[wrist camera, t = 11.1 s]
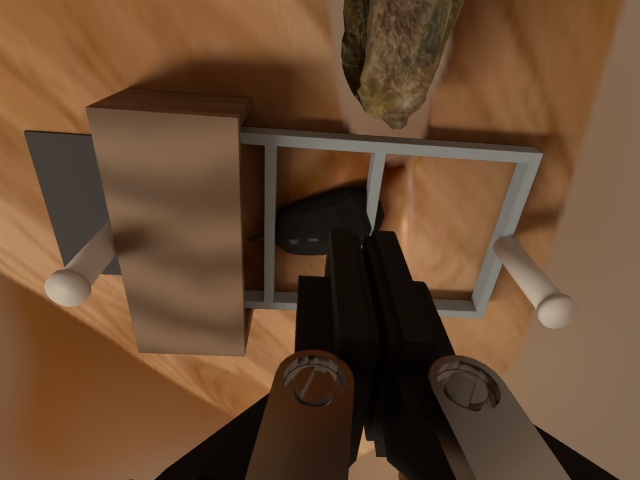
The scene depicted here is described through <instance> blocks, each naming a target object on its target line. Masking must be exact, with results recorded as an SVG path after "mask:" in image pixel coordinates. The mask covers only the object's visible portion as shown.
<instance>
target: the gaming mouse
mask: <svg viewBox="0 0 640 480" xmlns="http://www.w3.org/2000/svg"><path fill="white" fill-rule="evenodd" d="M383 219H384V213H383V209H382V204H381V201H380V200H378V206H377V212H376V218H375V224H374V230H377V231H378V230H379V229H380V227H381V224H382V221H383ZM330 228H341V229H351V231H352V235H359V238H360V243H361V246H362V244H363V238H364V236H365V235H370V233H371V230H372V227H371V224H370V221H369V218H368V215H367V189H364V188H361V187H345V188H340V189H336V190H333V191H329V192H327V193H324V194H321V195H318V196H315V197H312V198H309V199H305V200H302V201H299V202H296V203H294V204H291V205H288V206H286V207H284V208H283V209H282V210H281V211H280V212H278V213H277V214H276V222H275V243H276V244H277V245H279V246H280V247H281V248H282V249H284V250H285V251H286V252H287V253H292V254H296V255H325V254H327V246H328V236H329V229H330ZM258 240H264V235H262V236H261V237H256V238H251V239H248V242H254V241H258Z"/></svg>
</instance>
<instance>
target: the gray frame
mask: <svg viewBox="0 0 640 480" xmlns="http://www.w3.org/2000/svg"><path fill="white" fill-rule="evenodd" d="M240 142H241V144H252V145H265V232H264V291H257V290H244V296H245V308H258V309H280V310H297V294H298V292H278V291H274V287H275V222H276V197H277V152H278V146H281V147H296V148H311V149H325V150H340V151H355V152H370V153H371V159H370V166H369V173H368V180H367V187H366V189H367V215H368V218H369V221H370V224H371V227H372V230H371V233H372V231H373V230H374V224H375V218H376V212H377V206H378V200H379V194H380V188H381V182H382V176H383V170H384V164H385V158H386V154H399V155H414V156H429V157H443V158H458V159H473V160H488V161H502V162H517V165H516V168H515V171H514V174H513V177H512V180H511V183H510V186H509V189H508V192H507V195H506V198H505V201H504V204H503V206H502V209H501V212H500V215H499V218H498V221H497V224H496V227H495V230H494V233H493V236H492V239H491V242H490V245H489V247H488V250H487V253H486V256H485V259H484V262H483V265H482V268H481V271H480V274H479V277H478V280H477V283H476V286H475V288H474V291H473V294H472V297H471V300H470V301H467V300H446V299H433V302H434V304H435V307H436V309H437V311H438V314H439V316H440V317H458V318H480V319H482V318H483V315H484V313H485V310H486V307H487V304H488V302H489V299H490V296H491V294H492V291H493V288H494V286H495V283H496V280H497V278H498V275H499V272H500V269H501V267H502V264H503V265H504V266H505V268H506V269H507V270H508V272H509V273H510V274H511V276H512V277H513V278H514V280H515V281H516V282H517V284H518V285H519V286H520V288H521V289H522V290H523V292H524V293H525V295H526V296H527V297H528V299H529V300H530V301H531V303H532V304H533V305H534V307H535V308H536V315H537V317H538V318H539V320H540V321H541V322H542V324H543V325H544V326H546V327H548V328H560V327H563V326H565V325H567V324H569V323H571V322H572V321H573V320H574V319H575V318H576V316H577V315H578V311H579V308H578V305H577V304H576V303H575V302H574V301H573V299H572V298H571V297H570V296H568V295H566V294H562V293H561V292H560V291H559V289H558V288H557V287H556V286H555V285H554V284H553V283H552V281H551V280H550V279H549V278H548V277H547V276H546V274H545V273H544V272H543V271H542V270H541V269H540V267H539V266H538V265H537V264H536V263H535V262H534V261H533V259H532V258H531V257H530V256H529V255H528V254H527V253H526V251H525V250H524V249H523V248H522V247H521V246H520V244H519V243H518V242H517V241H516V240H515V239H514V238H513V235H514V232H515V229H516V226H517V224H518V221H519V218H520V216H521V213H522V210H523V208H524V205H525V202H526V200H527V197H528V194H529V192H530V189H531V186H532V183H533V181H534V178H535V175H536V173H537V170H538V167H539V165H540V162H541V159H542V157H543V153H542V152H540V151H539V150H537V149H536V148H534V147H527V146H513V145H498V144H484V143H470V142H456V141H441V140H427V139H412V138H399V137H383V136H370V135H356V134H342V133H327V132H313V131H299V130H285V129H271V128H256V127H242V126H241V127H240ZM371 233H370V235H369V236H371ZM361 248H362V246H361ZM116 254H117V250H116V245H115V241H114V236H113V232H112V227H111V222H110V220H109V221H108V222H107V223H106V224H105V225H104V226H103V227H102V228H101V229H100V230H99V231H98V232H97V233H96V234H95V236H94V237H93V238H92V239H91V240H90V241H89V242H88V243H87V244H86V245H85V246H84V247H83V248H82V249H81V251H80V252H79V253H78V254H77V255H76V256H75V257H74V258H73V259H72V260H71V261H70V262H69V263H68V264H67V266H66V267H65V268H64V269H63V270H58V271H56V272H54V273H53V274H52V275H51V276H50V277H49V278H48V279H47V281H46V282H45V285H44V288H45V292H46V294H47V295H48V297H49V298H50V299H52V300H53V301H54V302H56V303H58V304H60V305H62V306H67V307H76V306H79V305H81V304H83V303H84V302H85V300H86V299H87V298H88V296H89V295H90V293H91V286H92V284H93V283H94V282H95V281H96V279H97V278H98V277H99V275H100V274H101V273H102V272H103V270H104V269H105V268H106V266H107V265H108V264H109V263H110V261H111V260H112V259H113V258H114V256H115V255H116Z"/></svg>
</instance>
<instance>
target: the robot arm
mask: <svg viewBox="0 0 640 480" xmlns="http://www.w3.org/2000/svg"><path fill="white" fill-rule="evenodd" d="M363 426H364V429H365V436H366V440H367V441H374V444H375V450H376V457H387V461H388V462H389V463H390V464H392V465H393V466H394V467H395V468H396V469H397V470H398V471H399V474H398V477H399V480H619V479H617V478H616V477H614V476H613V475H611V474H610V473H608V472H607V471H605V470H604V469H602V468H600V467H599V466H597V465H596V464H594V463H593V462H591V461H590V460H588V459H587V458H585V457H583V456H582V455H580V454H579V453H577V452H576V451H574V450H573V449H571V448H569V447H568V446H566V445H565V444H563V443H562V442H560V441H559V440H557V439H556V438H554V437H553V436H551V435H549V434H548V433H546V432H545V431H543V430H542V429H540V428H539V427H537V426H535V425H534V424H532V422H531V421H530V419H529V418H528V416H527V415H526V413H525V412H524V410H523V409H522V407H521V406H520V405H519V403H518V402H517V400H516V399H515V397H514V396H513V395H512V393H511V392H510V390H509V389H508V387H507V386H506V384H505V383H504V381H503V380H502V379H501V378H500V377H499V376H498V374H497V373H496V372H495V371H493V370H492V369H491V368H489V367H488V366H487V365H485V364H483V363H481V362H479V361H477V360H475V359H473V358H469V357H465V356H460V355H455V353H454V350H453V348H452V345H451V343H450V340H449V338H448V336H447V333H446V331H445V328H444V326H443V324H442V321H441V319H440V316H439V314H438V311H437V309H436V307H435V304H434V302H433V299H432V297H431V294H430V292H429V290H428V287H427V285H426V284H425V283H424V282H419V281H413V280H412V277H411V274H410V272H409V269H408V266H407V264H406V261H405V258H404V256H403V253H402V250H401V247H400V245H399V242H398V239H397V237H396V234H395V232H393V231H377V230H373V231H372V233H371V236H369V235H365V236H364V238H363V244H362V248H361V243H360V238H359V235H352V231H351V229H341V228H330V229H329V236H328V246H327V256H326V266H325V276H324V277H319V276H299V278H298V294H297V311H296V331H295V352H294V354H292V355H290V356H288V357H287V358H286V359H285V360H284V361H283V362H282V363H280V365H279V367H278V369H277V371H276V373H275V376H274V380H273V383H272V387H271V390H270V393H269V394H267V395H266V396H264V397H263V398H262V399H260V400H259V401H258V402H256V403H255V404H254V405H252V406H251V407H250V408H248V409H247V410H245V411H244V412H243V413H241V414H240V415H239V416H237V417H236V418H235V419H233V420H232V421H231V422H229V423H228V424H226V425H225V426H224V427H222V428H221V429H220V430H218V431H217V432H216V433H214V434H213V435H212V436H210V437H209V438H207V439H206V440H205V441H204V442H202V443H201V444H199V445H198V446H197V447H195V448H194V449H193V450H191V451H190V452H189V453H187V454H186V455H184V456H183V457H182V458H180V459H179V460H178V461H176V462H175V463H174V464H172V465H171V466H170V467H168V468H167V469H166V470H165V471H163V472H162V473H161V474H160V475H159V476H158V477H157V478H156V479H155V480H348V474H349V473H348V472H349V467H350V466H351V465H352V464H353V463H354V462H355V461H356V459H357V454H358V450H359V445H360V440H361V436H362V431H363ZM131 480H133V479H131Z"/></svg>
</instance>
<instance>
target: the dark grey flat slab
mask: <svg viewBox="0 0 640 480" xmlns="http://www.w3.org/2000/svg"><path fill="white" fill-rule="evenodd" d="M24 134H25V137H26V141H27V144H28V147H29V151H30V154H31V157H32V160H33V164H34V167H35V170H36V174H37V177H38V180H39V184H40V187H41V190H42V194H43V197H44V200H45V203H46V207H47V210H48V213H49V217H50V220H51V223H52V227H53V230H54V233H55V237H56V240H57V243H58V246H59V250H60V253H61V256H62V260H63V263H64V266H65V267H66V266H67V264H68V263H69V262H70V261H71V260H72V259H73V258H74V257H75V256H76V255H77V254H78V253H79V252H80V251H81V249H82V248H83V247H84V246H85V245H86V244H87V243H88V242H89V241H90V240H91V239H92V238H93V237H94V236H95V234H96V233H97V232H98V231H99V230H100V229H101V228H102V227H103V226H104V225H105V224H106V223H107V222H108V221H109V220H110V218H109V213H108V209H107V204H106V199H105V195H104V190H103V186H102V181H101V176H100V172H99V167H98V162H97V158H96V153H95V149H94V144H93V139H92V135H78V134H63V133H48V132H33V131H24ZM101 274H112V275H122V273H121V269H120V264H119V259H118V255H117V254H116V255H115V256H114V258H113V259H112V260H111V261H110V263H109V264H108V265H107V266H106V268H105V269H104V270H103V272H102V273H101Z"/></svg>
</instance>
